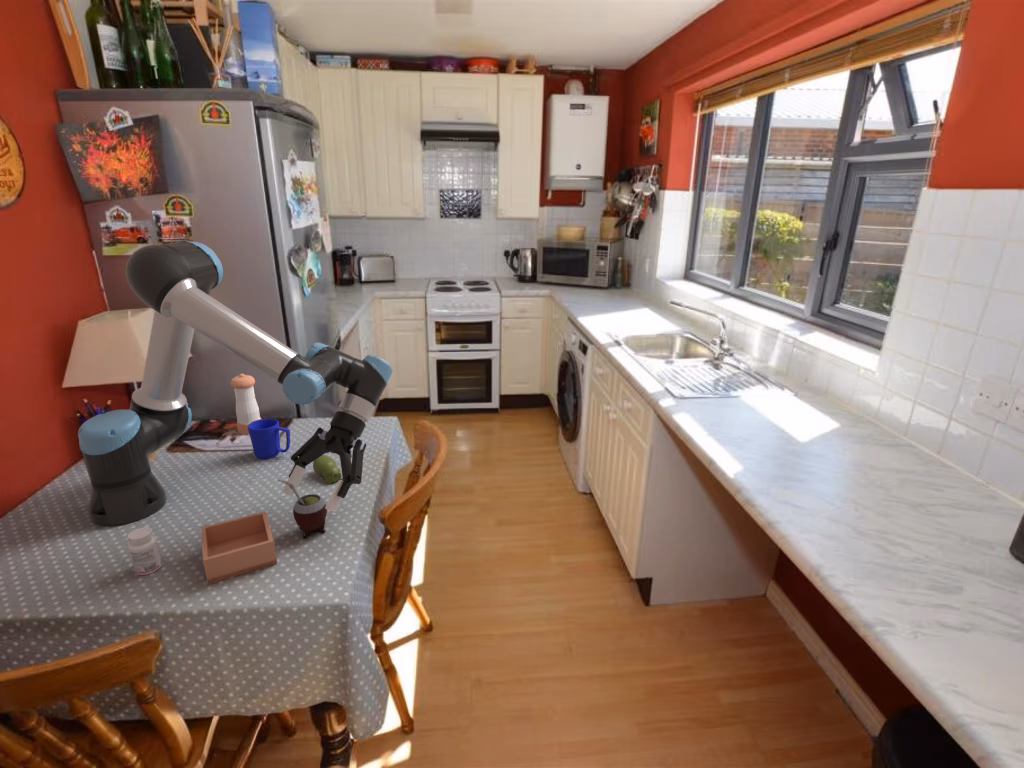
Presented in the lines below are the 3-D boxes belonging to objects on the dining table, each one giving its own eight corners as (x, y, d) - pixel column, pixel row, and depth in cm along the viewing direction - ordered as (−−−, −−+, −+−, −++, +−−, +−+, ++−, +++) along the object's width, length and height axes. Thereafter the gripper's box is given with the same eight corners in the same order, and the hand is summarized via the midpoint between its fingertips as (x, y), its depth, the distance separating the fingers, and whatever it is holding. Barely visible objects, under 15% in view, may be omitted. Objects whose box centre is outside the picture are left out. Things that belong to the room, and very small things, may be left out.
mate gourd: (334, 524, 123) (328, 466, 118) (315, 544, 116) (307, 484, 111) (306, 519, 125) (298, 462, 120) (285, 539, 117) (276, 479, 112)
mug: (284, 464, 150) (279, 432, 147) (246, 459, 152) (241, 428, 149) (300, 451, 158) (296, 420, 154) (264, 447, 160) (259, 417, 157)
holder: (207, 584, 103) (202, 560, 102) (205, 549, 114) (201, 527, 112) (277, 563, 110) (273, 541, 108) (269, 532, 120) (265, 511, 118)
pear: (327, 449, 147) (346, 466, 141) (328, 465, 149) (346, 483, 143) (308, 455, 143) (327, 474, 137) (309, 471, 145) (327, 490, 140)
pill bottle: (143, 560, 110) (134, 526, 107) (167, 559, 110) (158, 525, 107) (129, 576, 105) (119, 540, 102) (154, 575, 106) (145, 539, 103)
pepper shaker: (233, 433, 169) (223, 376, 162) (247, 424, 176) (238, 369, 169) (253, 435, 168) (244, 378, 161) (267, 426, 174) (259, 371, 168)
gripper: (401, 434, 122) (359, 522, 115) (324, 413, 133) (281, 491, 126) (383, 421, 116) (338, 513, 108) (304, 400, 127) (259, 482, 120)
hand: (307, 502), depth 117 cm, fingers open, 13 cm apart
